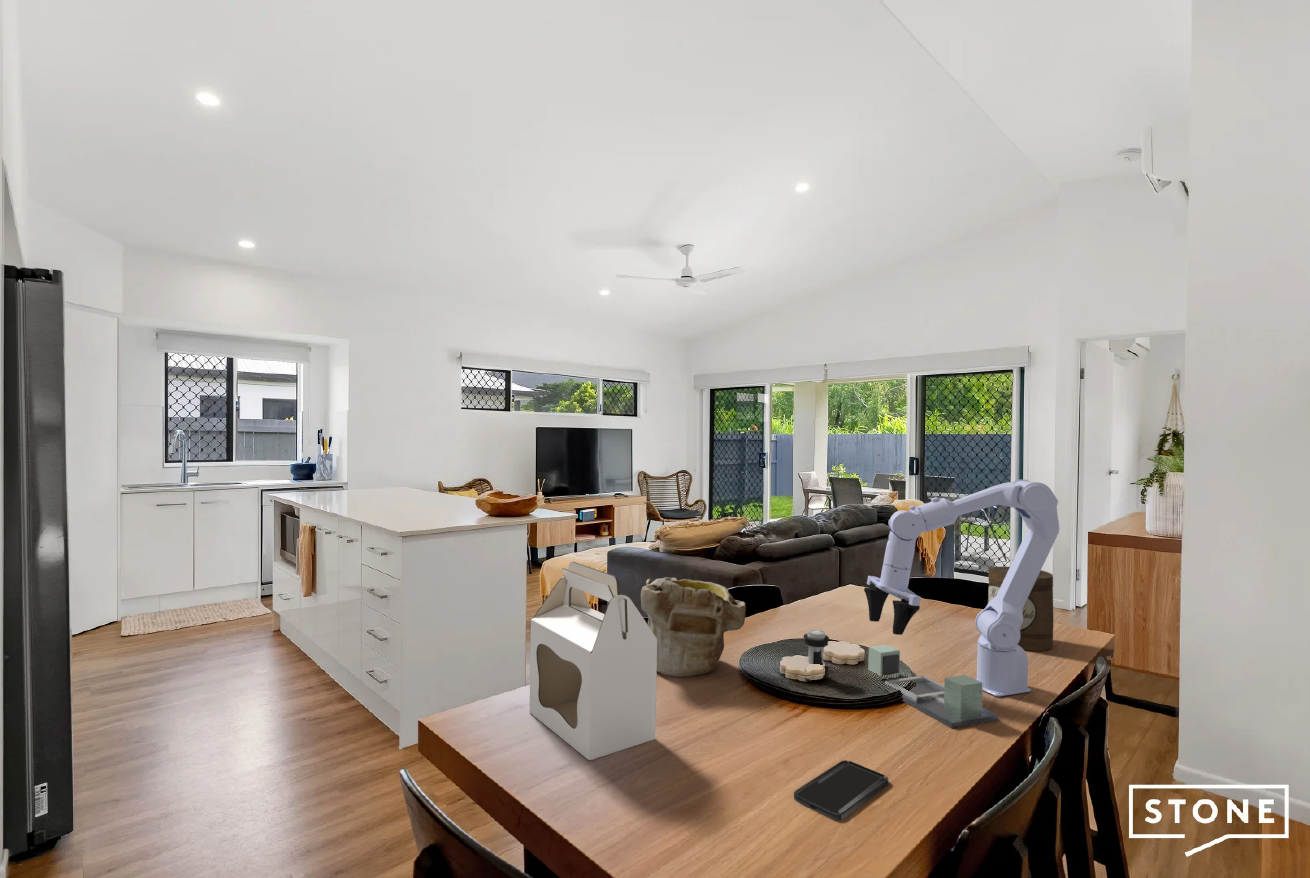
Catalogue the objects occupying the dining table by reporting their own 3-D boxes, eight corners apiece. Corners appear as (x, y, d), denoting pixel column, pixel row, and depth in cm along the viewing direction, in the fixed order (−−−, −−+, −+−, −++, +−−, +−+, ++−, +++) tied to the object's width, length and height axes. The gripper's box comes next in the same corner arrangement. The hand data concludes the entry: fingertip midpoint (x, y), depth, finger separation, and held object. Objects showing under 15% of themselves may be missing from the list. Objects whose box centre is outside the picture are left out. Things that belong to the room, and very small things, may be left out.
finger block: (868, 674, 144) (868, 646, 144) (886, 671, 146) (887, 644, 146) (881, 681, 140) (882, 653, 140) (900, 678, 142) (901, 651, 142)
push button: (810, 686, 137) (811, 638, 136) (792, 677, 141) (793, 631, 141) (833, 680, 140) (834, 633, 140) (816, 672, 144) (816, 627, 144)
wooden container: (974, 637, 172) (976, 553, 172) (1012, 630, 179) (1014, 550, 178) (1027, 654, 159) (1029, 564, 159) (1066, 647, 165) (1068, 560, 165)
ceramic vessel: (740, 610, 163) (747, 543, 147) (742, 703, 144) (749, 637, 128) (649, 605, 165) (646, 538, 149) (639, 695, 146) (634, 629, 130)
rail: (878, 687, 137) (878, 653, 136) (920, 681, 140) (921, 648, 140) (951, 728, 118) (952, 689, 118) (998, 720, 122) (999, 682, 121)
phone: (891, 778, 99) (839, 816, 89) (891, 785, 99) (838, 825, 89) (844, 758, 105) (790, 792, 94) (844, 765, 105) (789, 800, 94)
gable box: (528, 712, 121) (530, 561, 121) (589, 696, 129) (592, 554, 129) (589, 762, 104) (592, 585, 103) (656, 740, 111) (659, 576, 111)
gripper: (860, 555, 146) (849, 614, 147) (905, 574, 133) (893, 639, 133) (885, 558, 149) (875, 616, 149) (932, 576, 135) (920, 640, 136)
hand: (885, 627), depth 142 cm, fingers open, 7 cm apart
